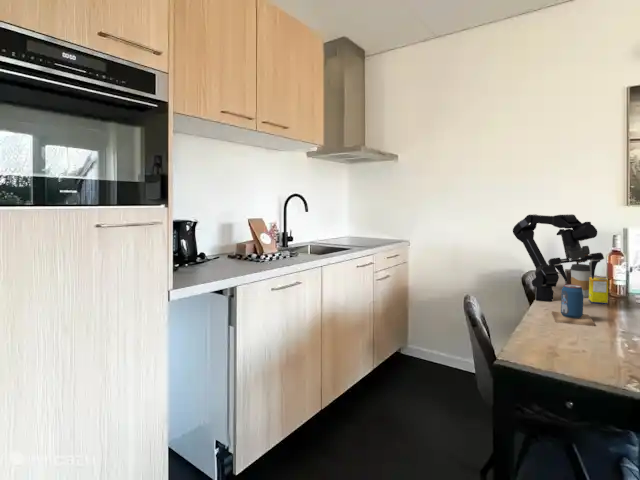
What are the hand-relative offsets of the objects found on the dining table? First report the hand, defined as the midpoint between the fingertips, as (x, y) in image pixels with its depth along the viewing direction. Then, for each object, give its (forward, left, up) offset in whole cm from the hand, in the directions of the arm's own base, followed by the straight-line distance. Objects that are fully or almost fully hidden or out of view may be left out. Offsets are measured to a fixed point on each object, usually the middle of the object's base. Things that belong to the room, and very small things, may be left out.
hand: (579, 280), depth 154 cm
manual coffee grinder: (+7, +51, -13) cm, 53 cm away
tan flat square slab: (-4, -17, -12) cm, 22 cm away
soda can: (-5, -17, -12) cm, 21 cm away
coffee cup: (+5, +28, -13) cm, 31 cm away
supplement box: (+10, +17, -13) cm, 23 cm away
